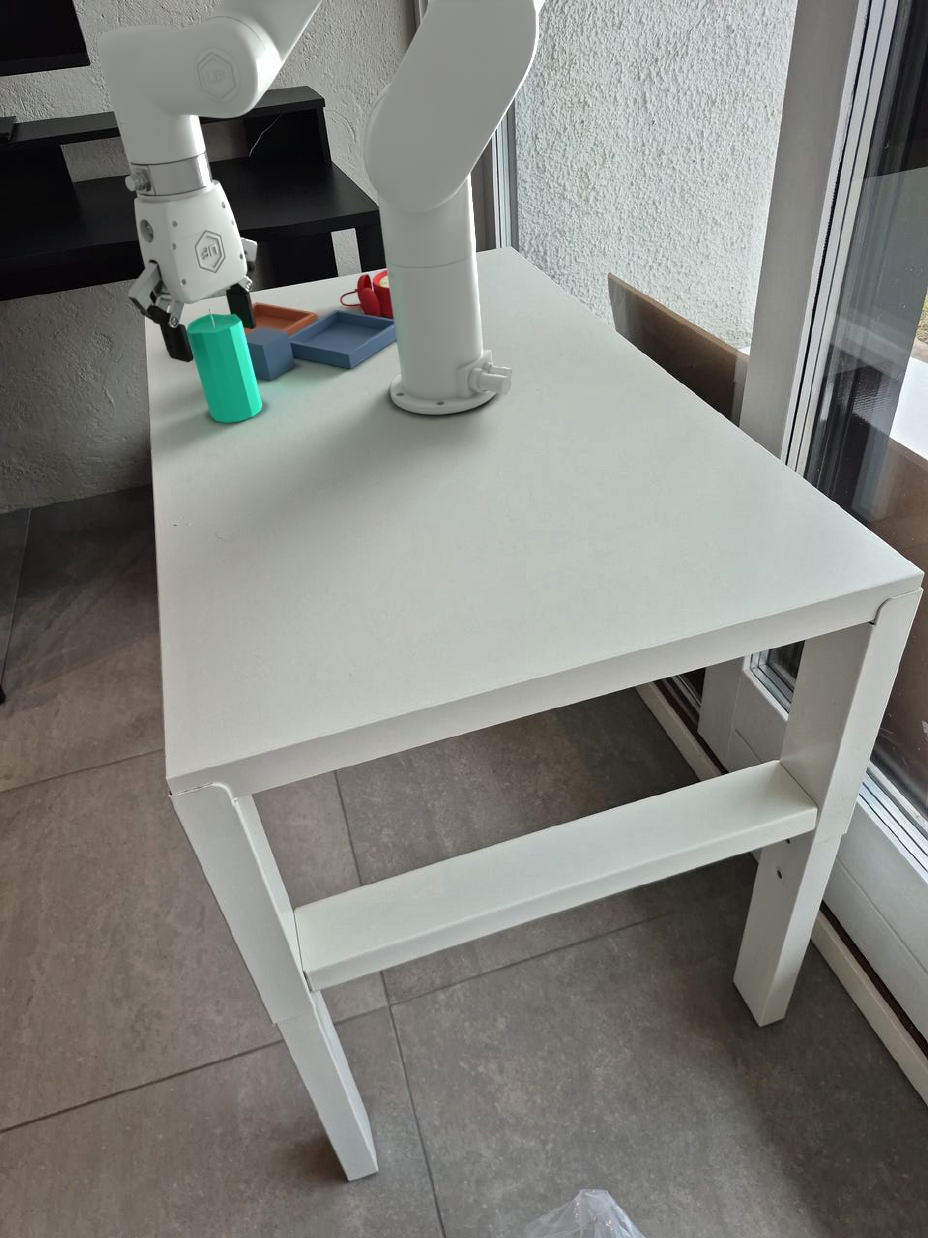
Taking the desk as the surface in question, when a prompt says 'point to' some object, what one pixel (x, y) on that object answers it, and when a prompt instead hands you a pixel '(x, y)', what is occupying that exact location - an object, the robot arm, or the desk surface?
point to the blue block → (269, 352)
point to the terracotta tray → (281, 318)
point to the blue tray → (343, 338)
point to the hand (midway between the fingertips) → (214, 342)
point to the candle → (225, 367)
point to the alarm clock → (373, 295)
